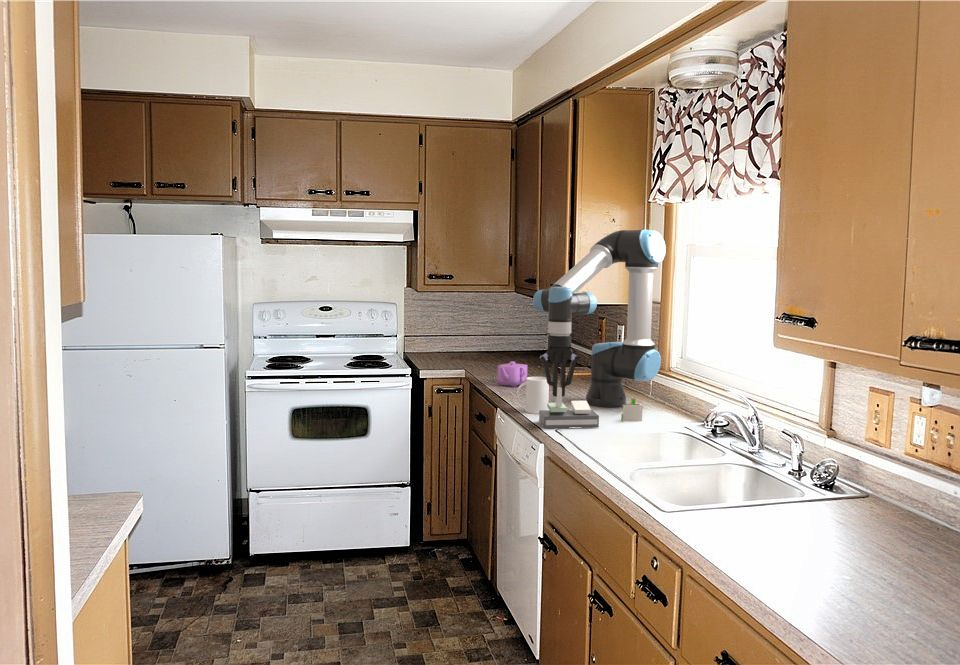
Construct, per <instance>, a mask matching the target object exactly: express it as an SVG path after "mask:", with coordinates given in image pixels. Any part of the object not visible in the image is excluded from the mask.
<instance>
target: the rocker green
mask: <svg viewBox="0 0 960 665" xmlns="http://www.w3.org/2000/svg"><path fill="white" fill-rule="evenodd" d="M547 407H548V409H549V410H550V412H567V410H568V407H567V406H566V405H565V404H564V402H562V407H556V406H555V402H549V403H547Z"/></svg>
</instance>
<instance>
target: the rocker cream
mask: <svg viewBox="0 0 960 665" xmlns="http://www.w3.org/2000/svg"><path fill="white" fill-rule="evenodd" d="M570 406H571V408H572V410H574V413H575V414H591V410H592V409H591V407H590V404H588V403H587V401H586V400H571V401H570Z"/></svg>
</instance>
